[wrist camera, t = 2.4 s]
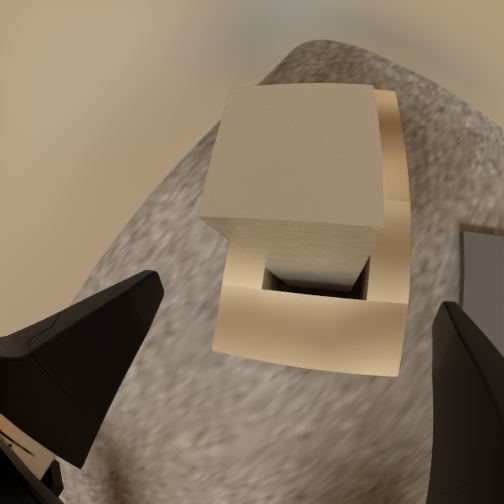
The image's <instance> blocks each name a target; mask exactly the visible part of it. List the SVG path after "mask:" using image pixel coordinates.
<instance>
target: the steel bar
mask: <svg viewBox="0 0 504 504" xmlns="http://www.w3.org/2000/svg"><path fill="white" fill-rule="evenodd" d="M198 217H199V218H200V219H202V220H203V221H204V222H206V223H207V224H208V225H210V226H211V227H212V228H214V229H215V230H216V231H218V232H219V233H220V234H222V235H223V236H224V237H225V238H227V239H228V240H229V241H231V242H232V243H233V244H235V245H236V246H237V247H239V248H240V249H241V250H243V251H244V252H245V253H247V254H248V255H249V256H251V257H252V258H253V259H255V260H256V261H257V262H259V263H260V264H261V265H263V266H264V267H265V268H266V269H268V270H269V271H270V272H272V273H273V274H274V275H276V276H277V277H278V278H280V279H281V280H282V281H284V282H285V283H286V284H288V285H289V286H296V287H305V288H315V289H324V290H334V291H345V292H350V290H351V289H352V287H353V285H354V284H355V282H356V280H357V278H358V276H359V275H360V273H361V271H362V269H363V267H364V266H365V264H366V262H367V260H368V258H369V256H370V254H371V252H372V250H373V249H374V247H375V245H376V243H377V241H378V239H379V237H380V235H381V233H382V231H383V229H384V185H383V165H382V151H381V140H380V130H379V121H378V113H377V106H376V99H375V93H374V87H373V85H365V84H347V83H292V84H274V85H261V86H251V87H243V88H234V89H230V91H229V94H228V98H227V101H226V105H225V108H224V112H223V115H222V119H221V122H220V126H219V130H218V133H217V137H216V141H215V145H214V149H213V152H212V156H211V160H210V164H209V168H208V173H207V177H206V181H205V185H204V190H203V194H202V198H201V203H200V207H199V212H198Z"/></svg>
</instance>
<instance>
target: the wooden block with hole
mask: <svg viewBox="0 0 504 504" xmlns="http://www.w3.org/2000/svg"><path fill="white" fill-rule="evenodd" d="M374 93H375V99H376V106H377V113H378V121H379V130H380V140H381V151H382V165H383V185H384V229H383V231H382V233H381V235H380V237H379V239H378V241H377V243H376V245H375V247H374V249H373V250H372V252H371V254H370V256H369V258H368V260H367V262H366V264H365V266H364V267H363V275H362V286H361V296H360V300H356V299H345V298H335V297H325V296H316V295H306V294H297V293H289V292H280V291H277V290H278V283H279V278H278V277H277V276H276V275H274V274H273V273H272V272H270V271H269V270H268V269H266V268H265V267H264V266H263V265H261V264H260V263H259V262H257V261H256V260H255V259H253V258H252V257H251V256H249V255H248V254H247V253H245V252H244V251H243V250H241V249H240V248H239V247H237V246H236V245H235V244H233V243H232V242H231V241H229V247H228V253H227V259H226V265H225V271H224V277H223V283H222V289H221V295H220V301H219V308H218V314H217V320H216V327H215V333H214V340H213V347H212V350H213V351H217V352H221V353H226V354H230V355H235V356H240V357H244V358H249V359H254V360H260V361H265V362H271V363H276V364H282V365H288V366H295V367H301V368H308V369H316V370H324V371H332V372H341V373H352V374H363V375H377V376H395V377H397V376H398V371H399V366H400V360H401V355H402V349H403V342H404V335H405V328H406V320H407V310H408V300H409V287H410V269H411V209H410V191H409V178H408V168H407V159H406V151H405V143H404V136H403V130H402V124H401V118H400V113H399V108H398V103H397V98H396V94H395V91H388V90H378V89H374Z"/></svg>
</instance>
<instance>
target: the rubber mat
mask: <svg viewBox="0 0 504 504" xmlns="http://www.w3.org/2000/svg"><path fill="white" fill-rule="evenodd" d="M460 239H461V291H460V307H461V309H462V310H463V311H464V312H465V313H466V314H467V315H468V316H469V317H470V318H471V319H472V320H473V322H474V323H475V324H476V325H477V326H478V327H479V328H480V329H481V330H482V332H483V333H484V334H485V335H486V336H487V337H488V339H489V340H490V341H491V342H492V343H493V345H494V346H495V347H496V348H497V349H498V351H499V352H500V353H501V354H502V356H503V357H504V237H503V236H497V235H490V234H483V233H476V232H469V231H463V232H461V233H460Z"/></svg>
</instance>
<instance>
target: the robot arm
mask: <svg viewBox="0 0 504 504" xmlns="http://www.w3.org/2000/svg"><path fill="white" fill-rule="evenodd" d="M163 296H164V289H163V286H162V283H161V280H160V277H159V275H158V273H157V272H156V271H152V270H145V271H142V272H140V273H138V274H136V275H134V276H132V277H130V278H128V279H125V280H123V281H121V282H119V283H117V284H115V285H113V286H111V287H109V288H107V289H105V290H103V291H100V292H98V293H96V294H94V295H92V296H90V297H88V298H86V299H84V300H82V301H80V302H78V303H76V304H74V305H72V306H70V307H68V308H66V309H64V310H62V311H60V312H58V313H56V314H54V315H52V316H50V317H48V318H46V319H44V320H42V321H40V322H38V323H35V324H33V325H31V326H28V327H26V328H24V329H22V330H19V331H17V332H15V333H13V334H10V335H8V336H4V337H0V504H64V503H63V502H62V501H61V500H60V499H58V497H59V495H60V494H61V492H62V490H63V489H64V487H63V482H62V477H61V471H60V465H59V462H58V461H57V460H56V459H55V457H56V455H57V456H58V457H60V458H62V459H63V460H65V461H67V462H68V463H70V464H72V465H74V466H75V467H77V468H79V469H81V468H82V467H83V465H84V463H85V460H86V458H87V456H88V453H89V451H90V449H91V447H92V444H93V442H94V440H95V438H96V436H97V433H98V431H99V429H100V427H101V426H100V425H101V424H102V422H103V420H104V418H105V416H106V414H107V412H108V410H109V407H110V405H111V403H112V401H113V399H114V397H115V395H116V393H117V391H118V389H119V387H120V385H121V383H122V381H123V379H124V377H125V375H126V373H127V371H128V369H129V367H130V365H131V364H132V362H133V360H134V358H135V356H136V354H137V352H138V350H139V348H140V346H141V345H142V343H143V341H144V339H145V337H146V335H147V333H148V331H149V329H150V327H151V324H152V322H153V320H154V317H155V315H156V313H157V310H158V308H159V306H160V303H161V301H162V299H163ZM432 339H433V356H432V383H433V446H432V460H431V471H430V479H429V487H428V494H427V501H426V504H504V357H503V356H502V354H501V353H500V352H499V351H498V349H497V348H496V347H495V346H494V345H493V343H492V342H491V341H490V340H489V339H488V337H487V336H486V335H485V334H484V333H483V332H482V330H481V329H480V328H479V327H478V326H477V325H476V324H475V323H474V322H473V320H472V319H471V318H470V317H469V316H468V315H467V314H466V313H465V312H464V311H463V310H462V309H461V307H460V306H459V305H458V304H457V303H456V302H453V301H444V302H442V303H441V305H440V307H439V310H438V312H437V315H436V317H435V319H434V322H433V327H432Z"/></svg>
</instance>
